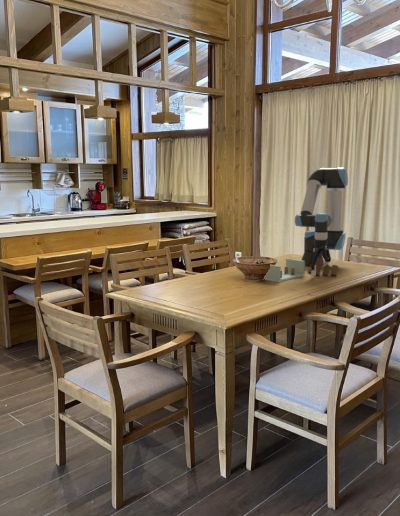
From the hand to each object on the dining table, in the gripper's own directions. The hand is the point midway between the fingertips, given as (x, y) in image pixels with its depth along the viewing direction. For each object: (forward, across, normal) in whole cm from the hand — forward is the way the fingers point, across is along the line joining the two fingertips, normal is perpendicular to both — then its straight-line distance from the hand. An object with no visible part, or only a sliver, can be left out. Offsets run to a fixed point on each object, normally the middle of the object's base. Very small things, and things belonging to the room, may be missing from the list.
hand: (319, 274), depth 298 cm
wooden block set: (+1, -3, -1) cm, 3 cm away
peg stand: (+1, +19, -13) cm, 23 cm away
